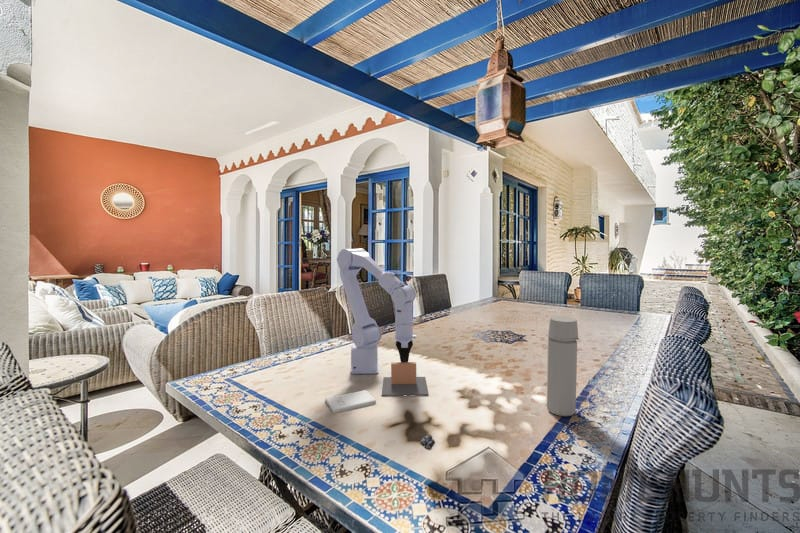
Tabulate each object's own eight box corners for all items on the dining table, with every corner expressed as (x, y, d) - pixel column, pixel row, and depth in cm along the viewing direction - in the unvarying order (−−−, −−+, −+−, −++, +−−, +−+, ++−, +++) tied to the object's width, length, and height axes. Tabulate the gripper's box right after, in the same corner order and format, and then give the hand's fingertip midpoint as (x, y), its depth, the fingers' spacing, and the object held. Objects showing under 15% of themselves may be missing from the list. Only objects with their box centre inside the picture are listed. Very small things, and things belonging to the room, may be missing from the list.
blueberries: (442, 437, 86) (442, 429, 86) (447, 454, 78) (447, 445, 78) (414, 438, 86) (413, 430, 86) (416, 455, 78) (416, 446, 78)
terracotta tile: (391, 383, 115) (391, 364, 115) (391, 381, 117) (391, 362, 116) (416, 383, 115) (416, 363, 115) (416, 381, 117) (415, 362, 116)
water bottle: (575, 420, 91) (577, 323, 89) (542, 413, 95) (544, 320, 94) (579, 406, 99) (581, 316, 97) (548, 400, 103) (550, 314, 101)
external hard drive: (376, 405, 102) (333, 415, 97) (365, 394, 110) (325, 403, 104) (376, 399, 102) (333, 409, 97) (365, 389, 109) (325, 397, 104)
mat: (381, 396, 107) (381, 394, 107) (383, 378, 121) (383, 377, 121) (428, 395, 107) (428, 394, 107) (425, 377, 121) (425, 376, 121)
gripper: (417, 327, 111) (417, 370, 112) (415, 317, 126) (415, 355, 126) (394, 327, 111) (395, 370, 112) (394, 318, 126) (395, 356, 126)
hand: (404, 363), depth 119 cm, fingers closed
